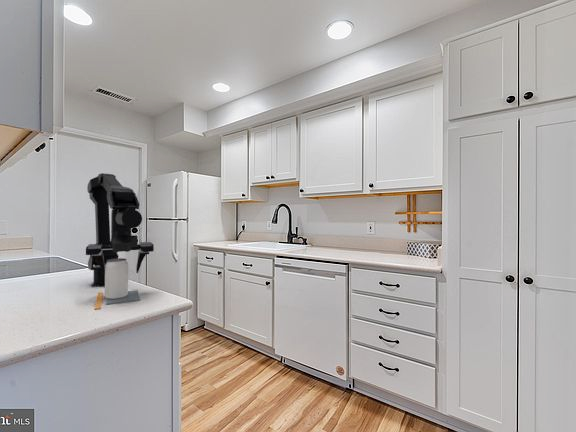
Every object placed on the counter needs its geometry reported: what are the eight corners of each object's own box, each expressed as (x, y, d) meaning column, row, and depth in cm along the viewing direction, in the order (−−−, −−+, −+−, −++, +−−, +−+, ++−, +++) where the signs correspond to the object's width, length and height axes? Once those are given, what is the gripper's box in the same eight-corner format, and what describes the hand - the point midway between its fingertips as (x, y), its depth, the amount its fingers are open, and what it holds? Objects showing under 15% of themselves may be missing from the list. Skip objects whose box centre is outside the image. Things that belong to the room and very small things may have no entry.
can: (117, 300, 88) (117, 261, 88) (99, 298, 90) (99, 261, 89) (132, 294, 95) (132, 258, 94) (115, 293, 96) (115, 257, 96)
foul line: (98, 293, 96) (98, 292, 96) (103, 293, 97) (103, 292, 97) (94, 309, 81) (94, 308, 81) (100, 308, 82) (100, 307, 82)
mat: (107, 294, 95) (107, 293, 95) (137, 291, 100) (137, 290, 100) (106, 305, 85) (106, 303, 85) (139, 300, 90) (139, 299, 90)
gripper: (84, 228, 81) (83, 283, 81) (155, 227, 91) (155, 276, 91) (87, 226, 90) (87, 275, 91) (152, 225, 100) (151, 269, 100)
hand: (121, 274), depth 93 cm, fingers open, 9 cm apart
